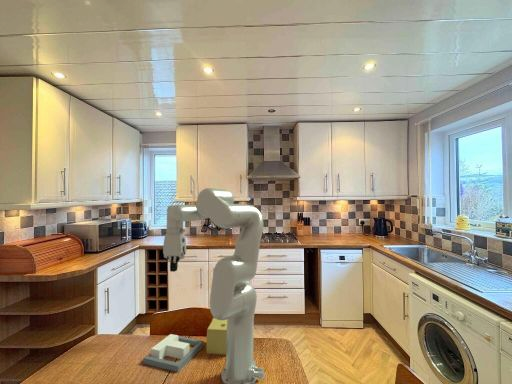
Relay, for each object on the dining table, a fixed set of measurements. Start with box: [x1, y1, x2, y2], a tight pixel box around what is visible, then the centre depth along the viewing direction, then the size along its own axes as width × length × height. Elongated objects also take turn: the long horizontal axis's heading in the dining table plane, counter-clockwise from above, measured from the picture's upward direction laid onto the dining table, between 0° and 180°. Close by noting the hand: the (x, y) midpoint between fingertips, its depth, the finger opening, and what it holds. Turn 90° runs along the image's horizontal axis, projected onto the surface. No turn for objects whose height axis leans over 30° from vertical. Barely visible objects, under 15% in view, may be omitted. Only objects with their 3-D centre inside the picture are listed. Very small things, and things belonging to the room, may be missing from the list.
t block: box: [150, 333, 190, 360], centre depth 100 cm, size 12×12×4 cm
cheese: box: [206, 317, 228, 356], centre depth 104 cm, size 10×11×10 cm
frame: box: [142, 335, 205, 373], centre depth 99 cm, size 16×18×2 cm
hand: (173, 270), depth 116 cm, fingers closed
